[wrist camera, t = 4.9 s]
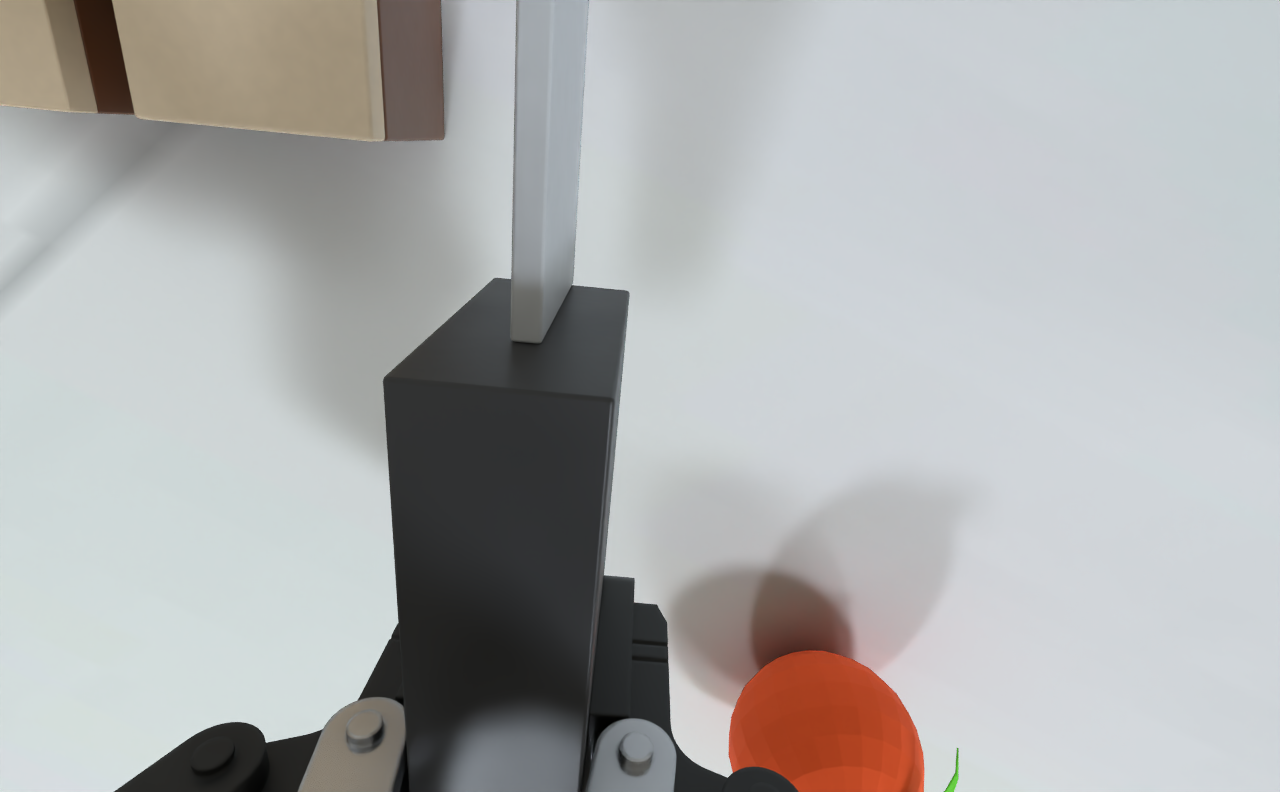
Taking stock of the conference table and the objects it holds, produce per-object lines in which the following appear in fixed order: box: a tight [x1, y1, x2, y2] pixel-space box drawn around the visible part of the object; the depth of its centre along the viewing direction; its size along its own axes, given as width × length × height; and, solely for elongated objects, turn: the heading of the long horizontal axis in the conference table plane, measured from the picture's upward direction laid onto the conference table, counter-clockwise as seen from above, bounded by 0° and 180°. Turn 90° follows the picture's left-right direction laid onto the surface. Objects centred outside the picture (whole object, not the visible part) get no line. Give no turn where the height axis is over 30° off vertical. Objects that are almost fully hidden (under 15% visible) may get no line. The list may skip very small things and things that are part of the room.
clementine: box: [729, 650, 958, 792], centre depth 23 cm, size 8×7×7 cm
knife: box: [383, 0, 629, 792], centre depth 10 cm, size 23×2×5 cm, turn 175°
